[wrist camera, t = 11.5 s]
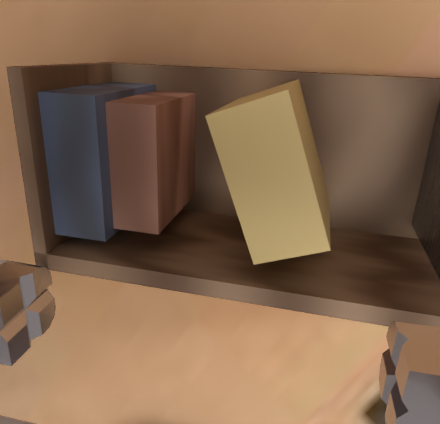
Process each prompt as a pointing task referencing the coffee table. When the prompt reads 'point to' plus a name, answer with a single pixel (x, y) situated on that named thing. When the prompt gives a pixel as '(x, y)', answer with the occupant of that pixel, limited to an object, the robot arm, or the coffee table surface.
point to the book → (273, 173)
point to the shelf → (224, 185)
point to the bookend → (430, 201)
